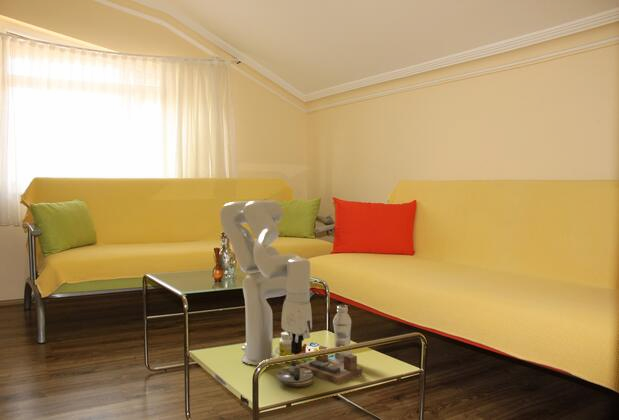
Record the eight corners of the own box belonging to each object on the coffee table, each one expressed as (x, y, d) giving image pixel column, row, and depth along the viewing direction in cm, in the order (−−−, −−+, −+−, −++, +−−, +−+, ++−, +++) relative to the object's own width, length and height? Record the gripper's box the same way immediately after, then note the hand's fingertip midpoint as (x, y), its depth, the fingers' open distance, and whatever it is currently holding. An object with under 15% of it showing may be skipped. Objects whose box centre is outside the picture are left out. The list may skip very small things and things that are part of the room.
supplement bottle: (277, 358, 193) (277, 331, 193) (292, 357, 195) (292, 330, 194) (281, 363, 188) (281, 335, 188) (296, 361, 190) (296, 334, 189)
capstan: (284, 391, 160) (283, 370, 160) (271, 379, 171) (271, 359, 171) (319, 386, 165) (319, 365, 165) (305, 374, 176) (305, 355, 175)
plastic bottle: (352, 365, 185) (352, 308, 184) (333, 365, 185) (333, 308, 185) (351, 359, 192) (351, 304, 191) (332, 359, 192) (332, 304, 191)
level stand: (298, 370, 180) (298, 351, 180) (322, 362, 189) (322, 344, 188) (337, 384, 167) (337, 364, 167) (362, 374, 176) (362, 355, 176)
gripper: (273, 294, 173) (272, 349, 174) (305, 303, 162) (304, 362, 164) (290, 290, 178) (289, 344, 180) (322, 299, 168) (321, 356, 169)
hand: (296, 352), depth 172 cm, fingers closed
